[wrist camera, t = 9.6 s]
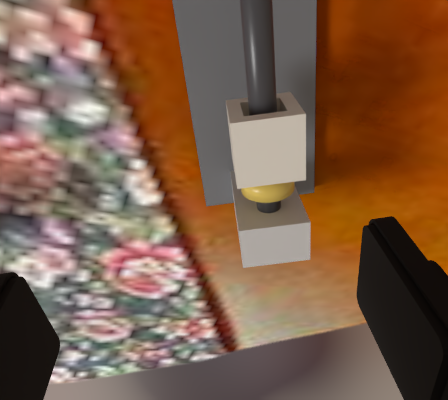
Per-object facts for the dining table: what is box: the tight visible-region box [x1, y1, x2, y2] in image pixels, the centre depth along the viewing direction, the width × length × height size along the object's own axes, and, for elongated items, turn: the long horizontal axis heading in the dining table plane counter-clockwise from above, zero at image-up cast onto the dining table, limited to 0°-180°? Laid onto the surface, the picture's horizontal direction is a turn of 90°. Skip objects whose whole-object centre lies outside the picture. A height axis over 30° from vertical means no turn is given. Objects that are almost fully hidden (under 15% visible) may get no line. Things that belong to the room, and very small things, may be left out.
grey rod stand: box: [172, 0, 317, 268], centre depth 22 cm, size 24×9×9 cm, turn 7°
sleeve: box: [226, 92, 306, 189], centre depth 23 cm, size 4×4×4 cm
